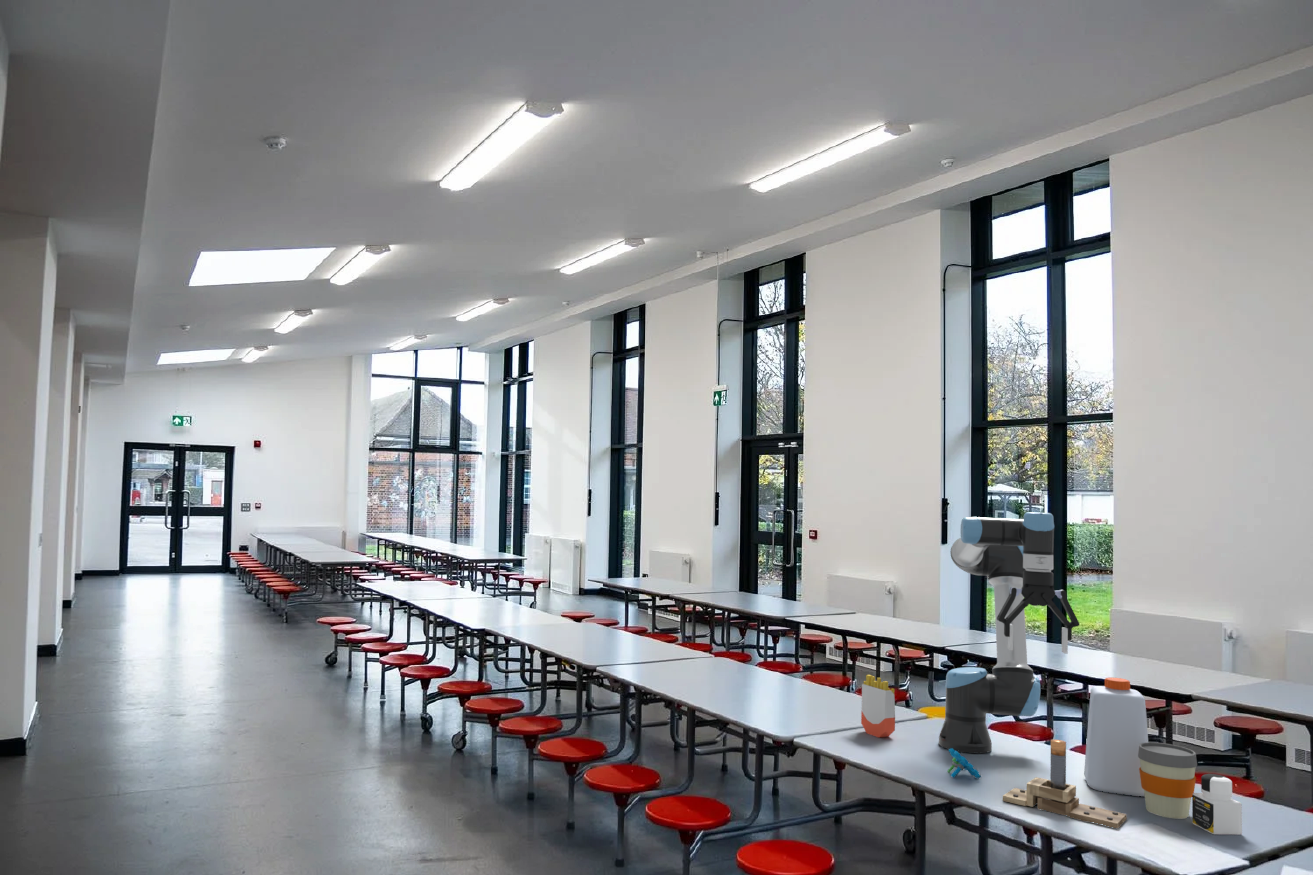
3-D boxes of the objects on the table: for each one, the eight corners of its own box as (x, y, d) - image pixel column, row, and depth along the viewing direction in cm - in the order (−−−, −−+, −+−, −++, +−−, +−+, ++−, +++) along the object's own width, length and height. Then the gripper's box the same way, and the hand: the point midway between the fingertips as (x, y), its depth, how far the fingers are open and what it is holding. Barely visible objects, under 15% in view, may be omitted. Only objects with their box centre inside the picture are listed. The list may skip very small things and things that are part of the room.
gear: (987, 777, 235) (960, 748, 236) (972, 794, 234) (944, 764, 235) (972, 771, 246) (945, 743, 247) (957, 787, 245) (931, 758, 246)
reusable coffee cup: (1196, 825, 209) (1196, 759, 210) (1135, 813, 216) (1135, 749, 217) (1197, 810, 220) (1197, 748, 221) (1139, 800, 226) (1139, 739, 228)
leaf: (1014, 792, 228) (1015, 771, 228) (1076, 806, 218) (1076, 784, 219) (1002, 800, 221) (1002, 778, 221) (1066, 815, 211) (1066, 793, 212)
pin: (1052, 805, 219) (1053, 738, 220) (1067, 809, 217) (1067, 741, 218) (1048, 808, 217) (1048, 741, 218) (1063, 812, 214) (1063, 743, 216)
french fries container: (871, 729, 288) (873, 672, 290) (895, 738, 279) (896, 679, 280) (860, 731, 286) (862, 673, 287) (884, 739, 276) (885, 680, 278)
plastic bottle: (1088, 791, 232) (1089, 681, 234) (1082, 775, 246) (1083, 671, 248) (1154, 799, 227) (1154, 687, 229) (1144, 783, 241) (1144, 677, 243)
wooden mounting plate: (1047, 800, 223) (1047, 790, 223) (1126, 819, 211) (1126, 807, 211) (1036, 809, 216) (1036, 798, 216) (1117, 828, 204) (1117, 817, 205)
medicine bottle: (1191, 823, 210) (1191, 771, 211) (1220, 823, 211) (1220, 771, 212) (1213, 834, 203) (1212, 780, 204) (1242, 835, 204) (1242, 780, 205)
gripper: (991, 568, 238) (990, 650, 236) (1092, 573, 234) (1091, 656, 232) (986, 567, 245) (985, 645, 244) (1083, 571, 241) (1083, 651, 240)
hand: (1037, 651), depth 238 cm, fingers open, 13 cm apart
